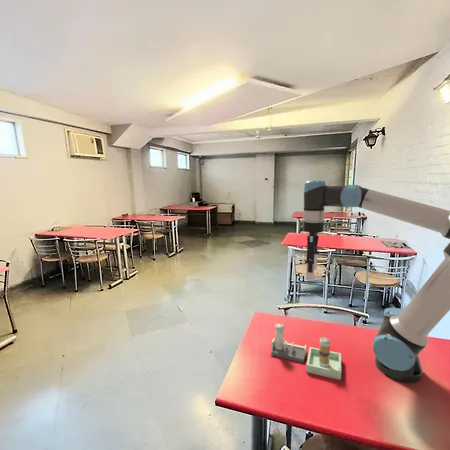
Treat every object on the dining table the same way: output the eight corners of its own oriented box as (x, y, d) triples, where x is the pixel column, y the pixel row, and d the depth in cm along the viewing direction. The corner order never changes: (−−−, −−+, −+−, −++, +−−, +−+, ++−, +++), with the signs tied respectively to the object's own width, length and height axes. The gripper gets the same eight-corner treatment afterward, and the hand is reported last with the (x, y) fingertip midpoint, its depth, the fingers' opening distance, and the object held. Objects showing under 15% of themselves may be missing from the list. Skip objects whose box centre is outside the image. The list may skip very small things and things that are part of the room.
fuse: (284, 346, 114) (285, 324, 112) (282, 351, 110) (283, 329, 109) (275, 344, 115) (276, 322, 114) (273, 349, 112) (274, 327, 110)
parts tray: (340, 360, 106) (340, 353, 106) (340, 380, 96) (341, 372, 95) (309, 353, 111) (309, 346, 111) (306, 372, 100) (306, 364, 100)
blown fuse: (329, 362, 104) (330, 338, 103) (329, 368, 101) (330, 344, 99) (319, 359, 106) (320, 336, 104) (318, 365, 102) (319, 341, 101)
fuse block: (306, 351, 112) (307, 341, 112) (304, 363, 105) (305, 352, 104) (274, 344, 118) (274, 335, 117) (270, 355, 110) (270, 345, 110)
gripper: (306, 217, 115) (305, 264, 118) (298, 225, 92) (297, 284, 95) (325, 217, 112) (323, 266, 115) (321, 226, 89) (319, 286, 92)
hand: (311, 274), depth 105 cm, fingers open, 13 cm apart
